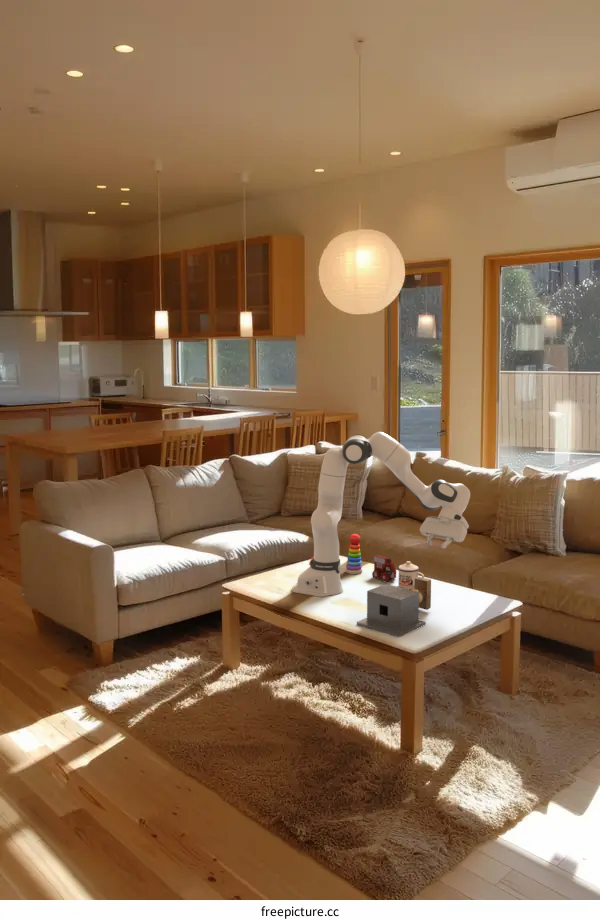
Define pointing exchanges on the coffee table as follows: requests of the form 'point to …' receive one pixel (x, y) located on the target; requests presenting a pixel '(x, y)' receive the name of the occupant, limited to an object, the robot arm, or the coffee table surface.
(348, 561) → the stacking toy
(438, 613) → the coffee table surface
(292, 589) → the robot arm
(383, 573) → the toy fire truck
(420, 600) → the shaft
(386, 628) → the bearing block
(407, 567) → the teacup with lid
